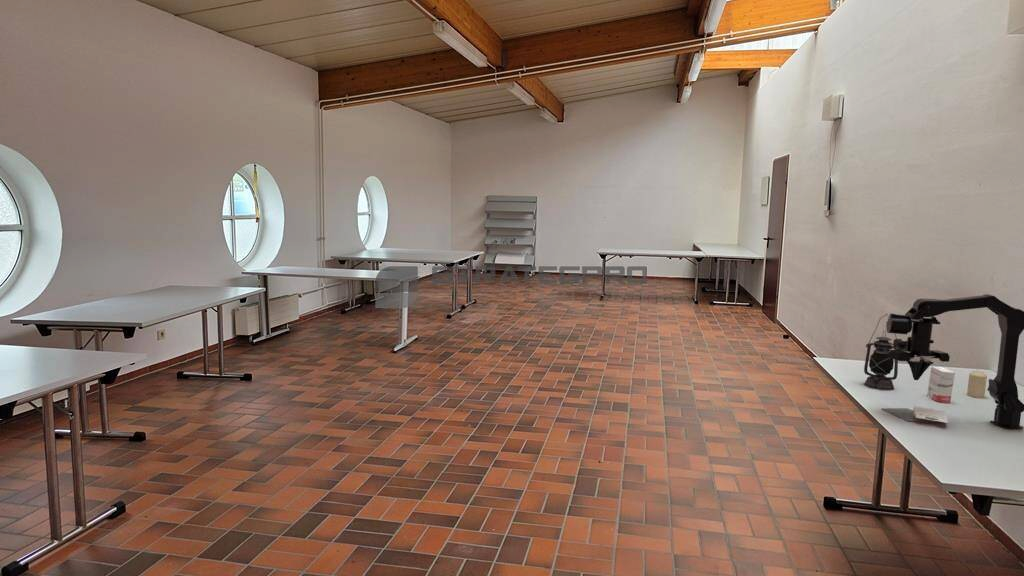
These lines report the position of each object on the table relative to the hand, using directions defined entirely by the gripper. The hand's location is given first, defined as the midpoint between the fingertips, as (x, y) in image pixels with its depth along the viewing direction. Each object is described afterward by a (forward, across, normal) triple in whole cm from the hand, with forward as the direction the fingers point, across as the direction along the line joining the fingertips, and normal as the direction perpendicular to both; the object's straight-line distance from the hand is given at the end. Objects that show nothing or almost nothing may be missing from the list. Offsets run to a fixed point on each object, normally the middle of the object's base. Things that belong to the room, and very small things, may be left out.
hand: (915, 379), depth 214 cm
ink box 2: (+10, -5, +2) cm, 12 cm away
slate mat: (+13, +2, 0) cm, 13 cm away
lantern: (+13, -13, -35) cm, 40 cm away
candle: (+13, -44, -22) cm, 51 cm away
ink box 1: (+13, -26, -18) cm, 34 cm away
